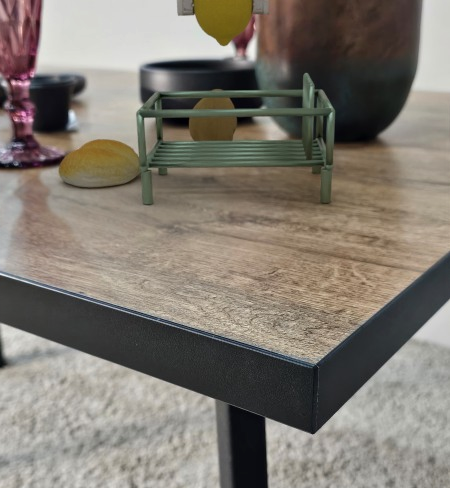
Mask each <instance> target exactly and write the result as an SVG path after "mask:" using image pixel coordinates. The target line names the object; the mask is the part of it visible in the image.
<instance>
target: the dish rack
mask: <svg viewBox="0 0 450 488" xmlns="http://www.w3.org/2000/svg"><path fill="white" fill-rule="evenodd" d="M292 97H293V98H297V97H298V98H302V107H290V108H287V107H285V108H283V107H280V108H279V107H278V108H235V109H193V108H192V109H162V99H203V98H230V99H231V98H292ZM315 97H316V107H315ZM153 106H154V109H152V107H153ZM135 115H136V132H137V146H138V156H139V170H140V179H141V181H140V182H141V195H142V204H143V205H152V204H154V190H153V174H152V170H151V169H158V171H157V172H158V175H161V176H166V175H168V174H169V173H168V169H195V168H196V169H199V168H200V169H205V168H206V169H209V168H214V169H215V168H217V169H218V168H220V169H221V168H311V173H312V174H314V175H315V174H320V192H319V203H321V204H330V203H331V202H332V177H333V176H332V175H333V169H334V150H335V149H334V148H335V147H334V146H335V125H336V124H335V123H336V122H335V120H336V110H335V108H334V107H333V105H332V103H331V101H330V100H329V98H328V96H327V95H326V93H325V91H324V89H315V83H314V82H313V80H312V78H311V76H310V74H309V73H308V72H305V73H304V74H303V76H302V89H255V90H254V89H253V90H252V89H251V90H249V89H248V90H223V91H212V90H179V91H177V90H176V91H175V90H174V91H173V90H172V91H171V90H170V91H155V92H154V93H153V94H152V95H151V96H150V97H149V98H148V100H147V101H145V102H144V103H143V104H142V105H141V107H140V108H139V109H138V110H137V111H136V113H135ZM190 117H237V118H256V117H257V118H258V117H259V118H260V117H261V118H262V117H267V118H268V117H302V118H301V119H302V121H301V139H274V140H273V139H269V140H268V139H264V140H263V139H261V140H260V139H259V140H256V139H255V140H251V139H250V140H247V139H246V140H245V139H244V140H233V141H194V140H164V133H163V132H164V131H163V129H164V128H163V118H164V119H166V118H167V119H169V118H170V119H171V118H173V119H174V118H175V119H176V118H181V119H182V118H190ZM314 117H316V118H314ZM324 117H326V131H325V132H326V133H325V134H326V135H325V142H324V139H323V135H324V134H323V133H324V132H323V131H324ZM145 119H155V130H156V131H155V132H156V133H155V136H156V139H155V142H154V144H153V145H152V146H151V147H150V150H149V151H148V153H147V144H146V142H147V141H146V126H145V125H146V124H145ZM314 119H316V121H315V122H316V123H315V124H316V125H315V139H314Z"/></svg>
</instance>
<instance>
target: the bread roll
mask: <svg viewBox="0 0 450 488" xmlns="http://www.w3.org/2000/svg"><path fill="white" fill-rule="evenodd" d="M140 174H141V171H140V170H139V154H138V153H137V152H136V151H135V150H134V148H132V147H131V146H129V145H128V144H126V143H124V142H121V141H119V140H115V139H107V138H98V139H94V140H90V141H88V142H85V143H84V144H82V145H81V146H80V147H79V148H77V149H74V150H72V151H70V152H69V153H68V154H67V155H66V156H64V158H63V159H62V160H61V162H60V163H59V167H58V175H59V178H60V179H61V180H62V181H63V182H65V183H66V184H69V185H72V186H74V187H79V188H90V189H91V188H104V187H112V186H113V187H114V186H119V185H124V184H127V183H129V182H131V181H132V180H134V179H135V178H136V177H138V176H139V175H140Z"/></svg>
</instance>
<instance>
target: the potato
mask: <svg viewBox="0 0 450 488" xmlns="http://www.w3.org/2000/svg"><path fill="white" fill-rule="evenodd" d="M211 91H224V89H221V88H215V89H214V88H213V89H212V90H211ZM192 109H236V108H235V105H234V103H233V102H232V100H231V97H230V98H201V99H200V100H199V101H197V103H196V104H195V106H194V107H193V108H192ZM237 126H238V117H189V120H188V131H189V135H190V137H191V139H192V141H234V135H235V133H236V130H237Z"/></svg>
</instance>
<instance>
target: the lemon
mask: <svg viewBox="0 0 450 488" xmlns="http://www.w3.org/2000/svg"><path fill="white" fill-rule="evenodd" d="M193 6H194V12H195V15H194V16H195V19H196V22H197V24H198V26H199V27H200V28H201V30H202V31H203V32H204V33H205V34H206V35H207V36H209V37H211V38H213V39H214V40H215V41H216V42H217V43H218V45H220V46H222V47H227V46H228V45H229V44H230V43H231V42H232V40H233V39H234V38H236V37H237V36H239V35H241V34H242V33H243V32H244V31H245V30H246V29H247V27H248V26H249V25H250V24H249V23H250V22H251V20H252V16H253V6H254V2H253V0H193Z"/></svg>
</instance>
